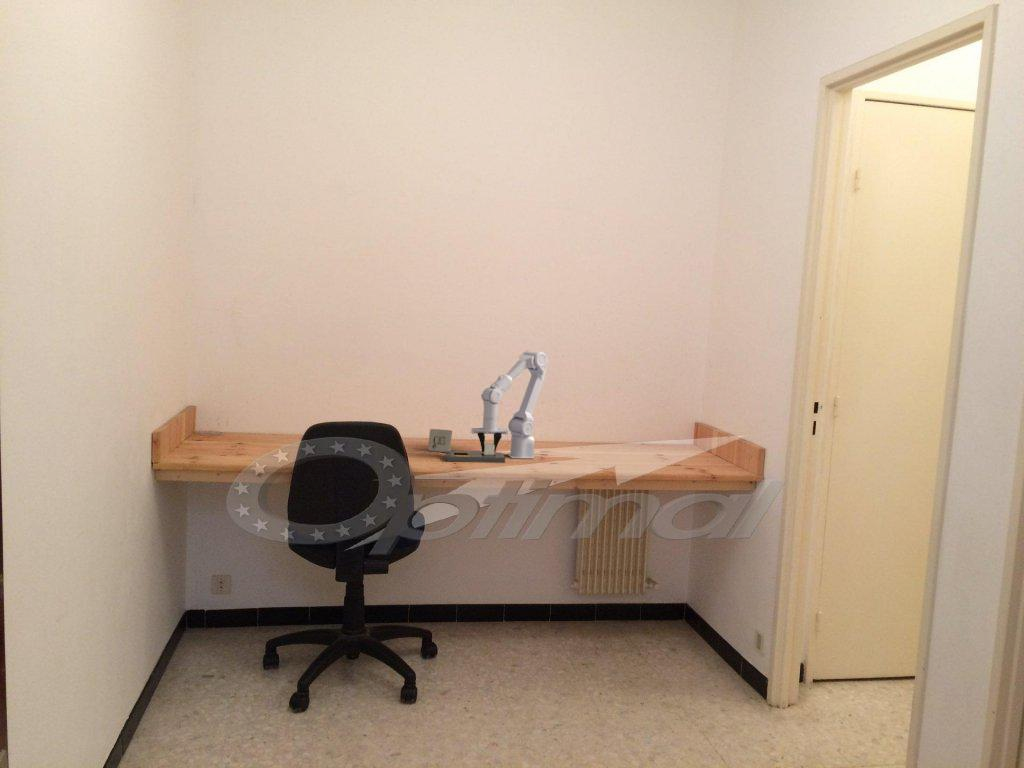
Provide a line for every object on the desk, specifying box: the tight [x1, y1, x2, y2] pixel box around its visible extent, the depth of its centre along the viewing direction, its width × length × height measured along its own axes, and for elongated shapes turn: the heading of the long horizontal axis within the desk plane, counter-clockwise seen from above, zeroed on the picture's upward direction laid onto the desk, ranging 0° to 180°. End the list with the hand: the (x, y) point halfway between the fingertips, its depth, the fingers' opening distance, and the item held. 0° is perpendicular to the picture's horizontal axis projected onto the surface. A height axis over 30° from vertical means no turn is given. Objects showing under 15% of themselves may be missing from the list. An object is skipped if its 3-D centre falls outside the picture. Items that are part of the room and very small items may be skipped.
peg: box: [483, 442, 495, 456], centre depth 316 cm, size 4×4×6 cm
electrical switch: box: [427, 428, 453, 453], centre depth 328 cm, size 9×5×9 cm, turn 85°
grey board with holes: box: [444, 451, 506, 464], centre depth 315 cm, size 23×10×2 cm, turn 101°
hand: (488, 451), depth 316 cm, fingers closed on peg, 4 cm apart
